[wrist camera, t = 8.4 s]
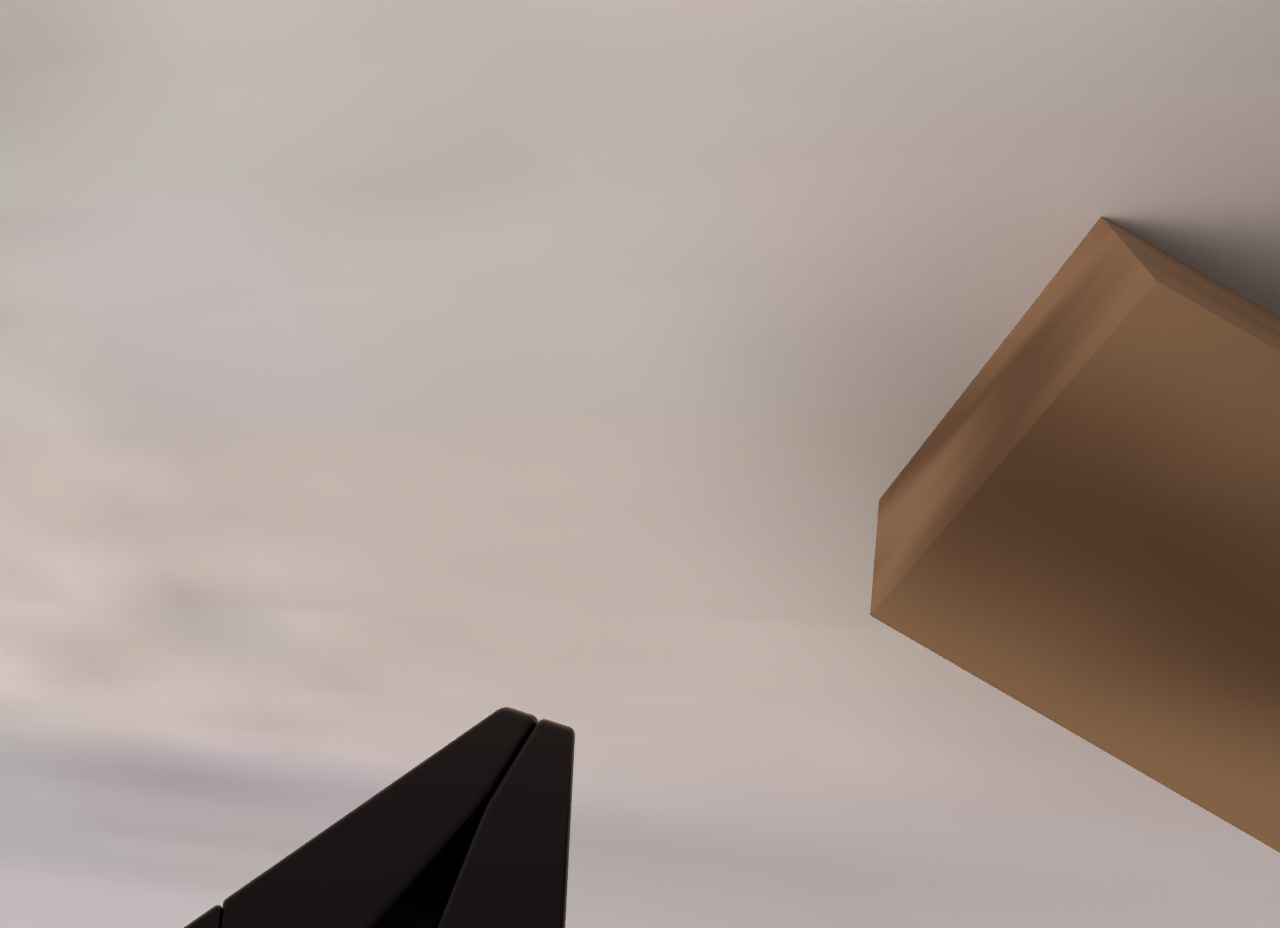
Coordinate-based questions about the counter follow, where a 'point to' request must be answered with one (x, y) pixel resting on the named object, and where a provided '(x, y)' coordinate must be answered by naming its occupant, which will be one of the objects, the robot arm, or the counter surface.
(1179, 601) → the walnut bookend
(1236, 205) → the counter surface
